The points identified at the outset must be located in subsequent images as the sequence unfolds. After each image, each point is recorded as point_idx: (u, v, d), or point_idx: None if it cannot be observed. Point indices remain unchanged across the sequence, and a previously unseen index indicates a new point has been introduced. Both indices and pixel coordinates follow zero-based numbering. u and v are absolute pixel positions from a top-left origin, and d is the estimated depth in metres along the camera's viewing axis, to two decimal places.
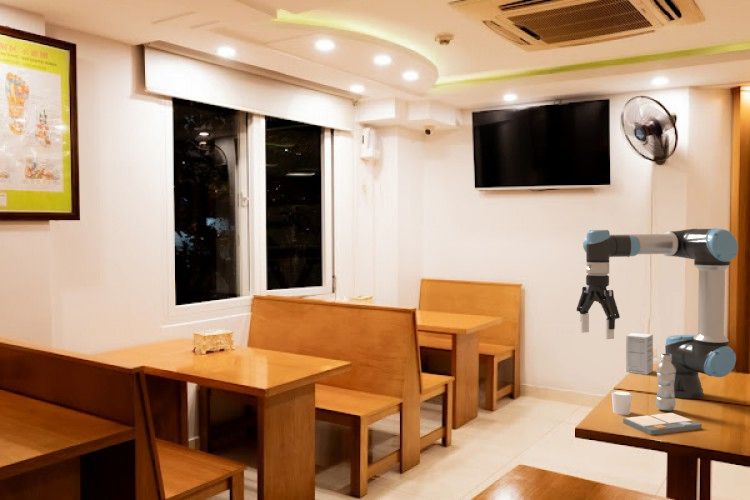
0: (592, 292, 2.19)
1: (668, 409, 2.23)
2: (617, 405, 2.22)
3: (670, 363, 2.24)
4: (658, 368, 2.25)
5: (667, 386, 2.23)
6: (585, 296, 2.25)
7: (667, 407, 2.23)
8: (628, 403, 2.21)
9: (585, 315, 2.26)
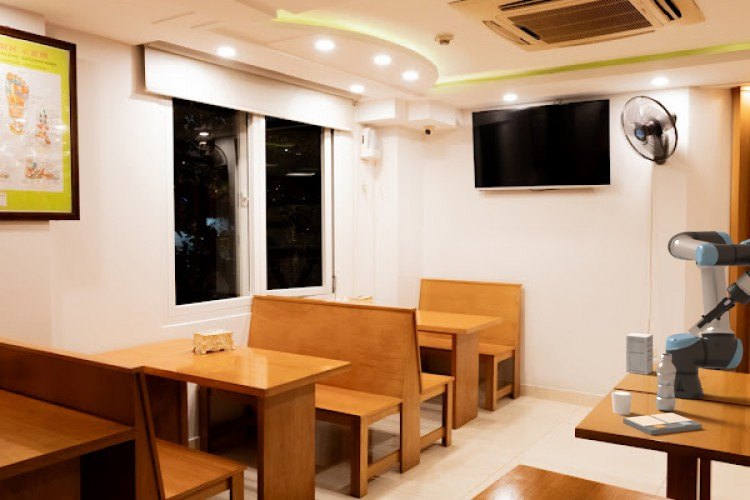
0: None
1: (668, 409, 2.23)
2: (617, 405, 2.22)
3: (670, 363, 2.24)
4: (658, 368, 2.25)
5: (667, 386, 2.23)
6: None
7: (667, 407, 2.23)
8: (628, 403, 2.21)
9: None
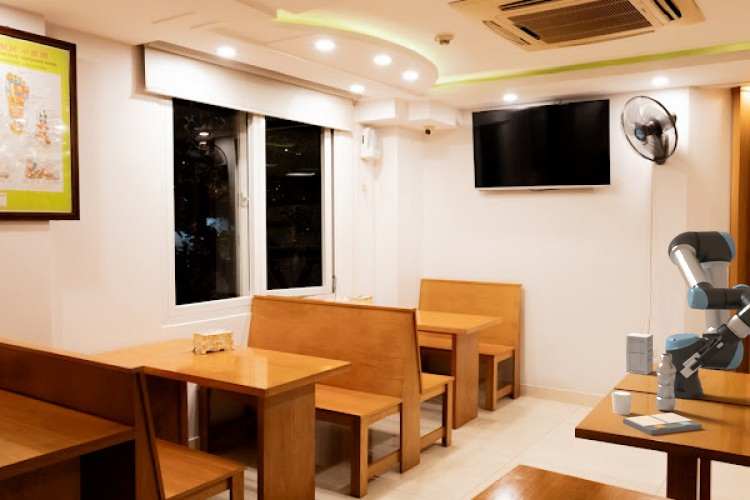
0: None
1: (668, 409, 2.23)
2: (617, 405, 2.22)
3: (670, 363, 2.24)
4: (658, 368, 2.25)
5: (667, 386, 2.23)
6: None
7: (667, 407, 2.23)
8: (628, 403, 2.21)
9: None
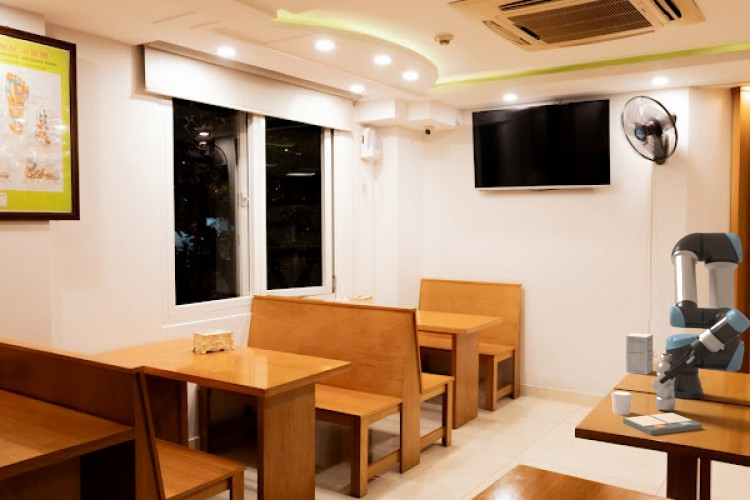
0: None
1: (668, 409, 2.23)
2: (617, 405, 2.22)
3: (670, 363, 2.24)
4: (658, 368, 2.25)
5: (667, 386, 2.23)
6: None
7: (667, 407, 2.23)
8: (628, 403, 2.21)
9: None
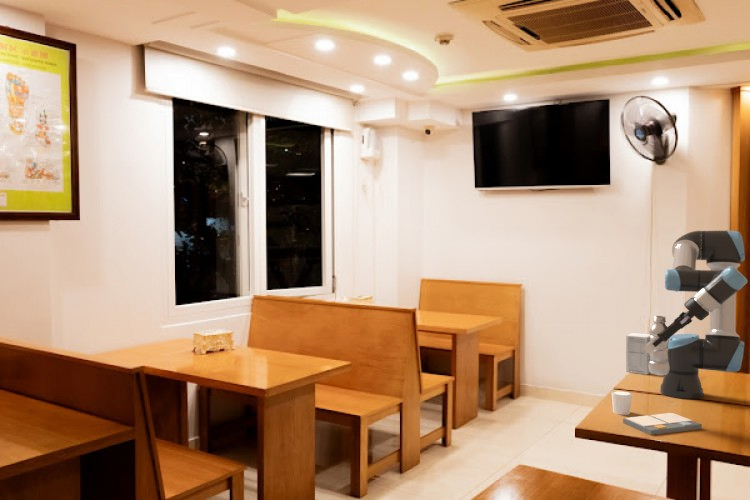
0: None
1: (662, 373, 2.13)
2: (617, 405, 2.22)
3: (664, 325, 2.14)
4: (651, 330, 2.15)
5: (661, 349, 2.13)
6: None
7: (661, 371, 2.13)
8: (628, 403, 2.21)
9: None
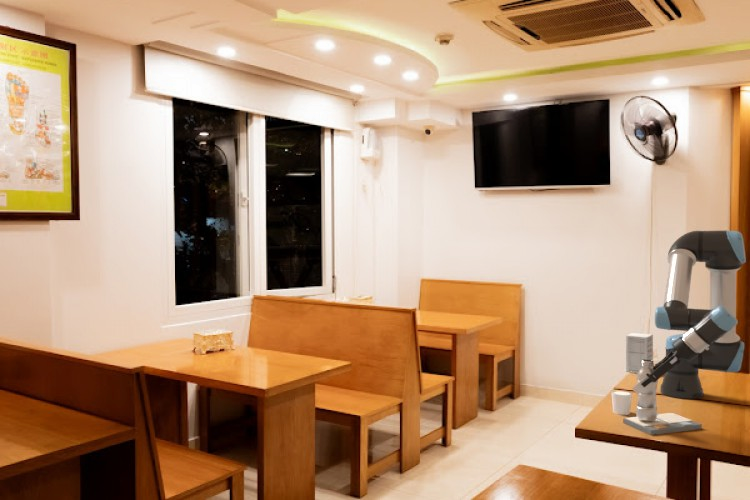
0: None
1: (649, 420, 2.06)
2: (617, 405, 2.22)
3: (651, 370, 2.06)
4: (639, 375, 2.07)
5: (649, 394, 2.05)
6: None
7: (648, 417, 2.05)
8: (628, 403, 2.21)
9: None
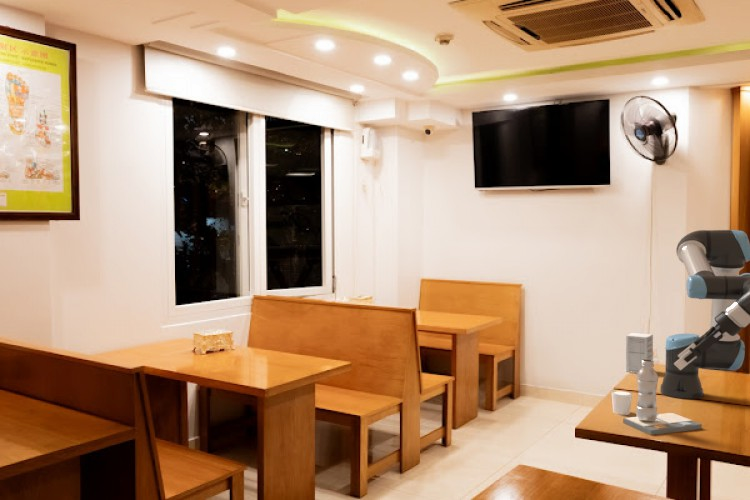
0: None
1: (649, 420, 2.06)
2: (617, 405, 2.22)
3: (651, 370, 2.06)
4: (639, 375, 2.07)
5: (649, 394, 2.06)
6: None
7: (648, 417, 2.05)
8: (628, 403, 2.21)
9: None
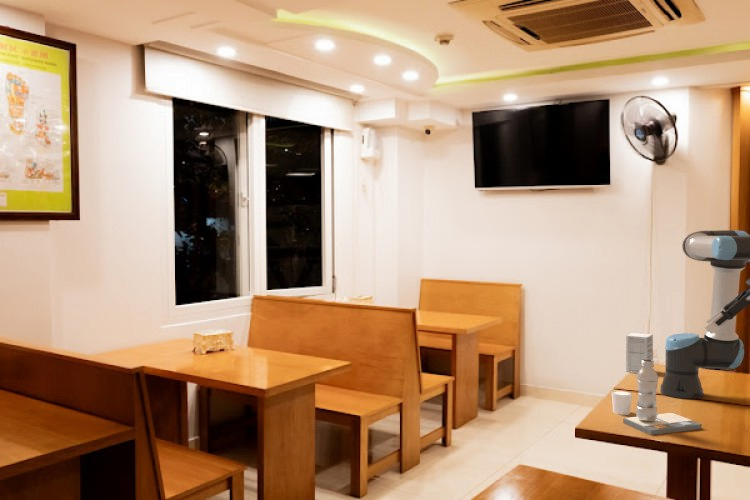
0: None
1: (649, 420, 2.06)
2: (617, 405, 2.22)
3: (651, 370, 2.06)
4: (639, 375, 2.07)
5: (648, 394, 2.06)
6: None
7: (648, 417, 2.05)
8: (628, 403, 2.21)
9: None
